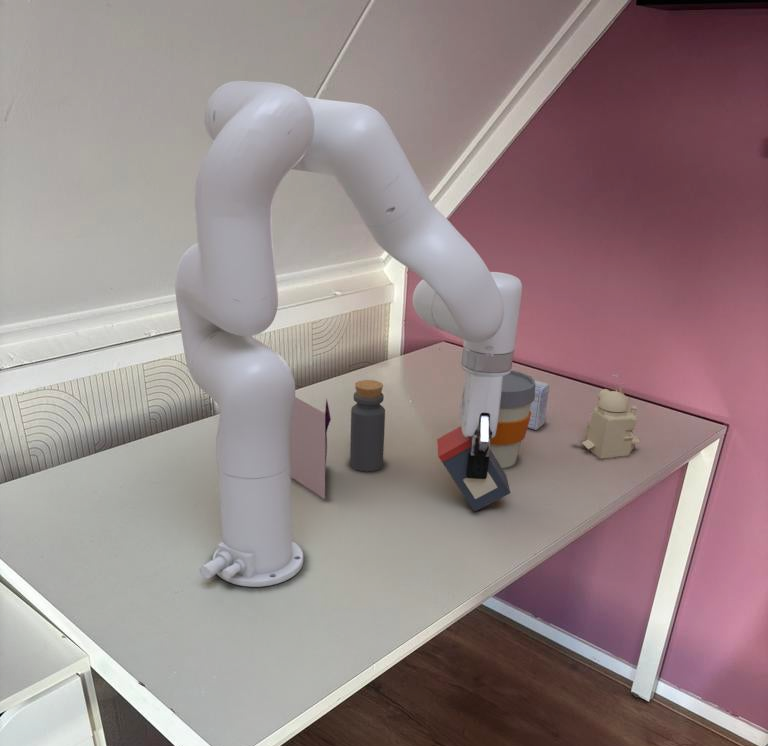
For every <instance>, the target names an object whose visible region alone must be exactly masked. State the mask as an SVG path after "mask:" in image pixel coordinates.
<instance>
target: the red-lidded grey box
mask: <svg viewBox="0 0 768 746" xmlns="http://www.w3.org/2000/svg"><path fill="white" fill-rule="evenodd" d="M475 435H480V432H476V431H475ZM471 441H472V438H471V436H468V437H465V436H464V435H463V433H462V428H461V425H460V426H458V427H456V428H455V429H452V430H451V431H449V432H447V433H445V434H444V435H442V436H440V437H438V438H437V439H436V443H437V456H438V459H439V460H440V462H441V463H442V464H443V466H444V468H445V469H446V470H447V472H448V474H449V475H450V476H451V478H452V480H453V481H454V483H455V484H456V486H457V487H458V489H459V491H460V492H461V493H462V495H463V497H464V498H465V499H466V501H467V503H468V504H469V506H470V507H471V509H472V511H473V512H477V511H480V510H482V509H483V508H485V507H487V506H489V505H490V504H492V503H494V502H496V501H498V500H500V499H502V498H504V497H506V496H508V495H510V494H511V490H510V486H509V485H510V484H509V480H508V477H507V474H506V472H505V471H504V468H501V466H500V464H499V463H498V461H497V459H496V458H495V456H494V455H493V453H492V451H491V450H490V449H489V455H490V456H489V464H488V472H487V478H486V479H473V478H467V477H466V470H467V462H468V453H471ZM477 443H479V439H476V441H475V445H476V444H477Z"/></svg>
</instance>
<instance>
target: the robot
mask: <svg viewBox="0 0 768 746" xmlns="http://www.w3.org/2000/svg"><path fill="white" fill-rule="evenodd" d="M610 376H612V377H615V378H617V379H616V383H619V373H616V374H610ZM620 384H621V385H620V386H618V387H619V391H618V388H616V389H615V390H610V389H607V388H604V389H601V391H599V392H598V395H597V397H598V404H597V405H596V406H594V408H593V410H592V413H589V415H590V416H591V417H590V421H586V432H587V437H586V440H585V441H584V440H583V441H582V442H581V443H580V444H578V446H581V445H582V446H581V447H582V448H584V447H585V448H586V449H587V454H589V453H590V452H591V453H592V454H593V455H595V456H596V457H598V458H599V459H609V458H618V457H628V456H630V453H632V451H633V450H634V449H635V445H637V444H641V440H640V439H639V437H637V436H636V435H635V434H634V430H635V429H636V426H637V423H638V417H637V416H636V412H637V409H638V407H637V406H636V405H635V404H634V405H631V406H630V396H628V397H627V396H626V395H625V394H624V393H623V391H622V388H623V385H624V383H623V382H621V383H620ZM629 409H630V410H629ZM631 433H632V434H631Z"/></svg>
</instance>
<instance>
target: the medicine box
mask: <svg viewBox="0 0 768 746" xmlns="http://www.w3.org/2000/svg"><path fill="white" fill-rule="evenodd" d="M549 391H550V383H548V382H543V381H540V380H535V399H534V401H533V402H532V404H531V407H530V411H531V416H530V420H529V424H528V427H527V429H530V430H535V431H537V430H538V429H539V428H541V427H542V426H543V425H544V424H545V423H546V415H547V414H546V413H547V405H548V398H549Z"/></svg>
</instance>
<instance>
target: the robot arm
mask: <svg viewBox="0 0 768 746" xmlns="http://www.w3.org/2000/svg"><path fill="white" fill-rule="evenodd" d="M204 125H205V130H206V133H207V136H208V138H209V140H210V142H211V145H210V146H209V148H208V149H207V151H206V153H205V155H204V157H203V159H202V162H201V164H200V167H199V169H198V173H197V177H196V180H195V186H194V196H193V197H194V198H193V199H194V200H193V201H194V202H193V204H194V207H193V208H194V218H195V219H194V220H195V230H196V231H195V232H196V242H197V243H196V242H195V243H194V244H193V245H191V246H190V247H189V248H188V249H187V250H185V252H184V253H183V255H182V256H181V258H180V260H179V261H178V264H177V267H176V271H175V278H174V292H175V301H176V308H177V313H178V321H179V328H180V333H181V340H182V346H183V353H184V358H185V362H186V366H187V369H188V372H189V374H190V377H191V379H192V381H194V383H195V384H196V385H197V387H199V388H200V390H202V391H203V392H204V393H205V394H206V395H207V396H208V397H210V399H211V400H213V401H214V402H215V403H216V404H217V406H218V410H219V411H218V413H219V419H218V426H217V431H216V438H215V439H216V440H215V455H216V466H217V478H218V479H217V480H218V494H219V495H218V496H219V507H220V521H221V522H220V524H221V537H222V541H221V542H219V543H217V548H216V550H215V551H214V553H213V554H212V559H211V560H209V561H207V562H206V563H205V564H203V565H201V566H200V567H199V574H200V575H201V576H202V578H204V579H205V580H210V579H211V578H212V577H214V576H216V575H217V576H218V577H220V579H222V580H223V581H226V582H227V583H230V584H233V585H237V586H240V587H249V588H263V587H268V586H275V585H277V584H281V583H283V582H286V581H287V580H289V579H291V578H293V577H294V576H296V575H297V574H298V573H299V572H300V571H301V569H302V567H303V565H304V552H303V549H302V547H300V545H299V544H298V543H296V542H295V541H293V522H292V521H293V520H292V477H291V466H290V429H291V419H292V413H293V407H294V401H295V397H296V383H295V378H294V375H293V372H292V370H291V368H290V366H289V365H288V363H287V362H286V361H285V359H284V358H283V357H282V356H281V355H280V354H279V353H278V352H276V350H274V349H272V348H271V347H270V346H268V345H266V344H265V343H264V342H262V341H260V340H258V339H257V338H255V337H254V336H258V335H260V334H261V333H263V332H265V331H266V330H267V329H268V328H270V326H271V325H272V324H273V322H274V320H275V318H276V316H277V313H278V308H279V307H278V306H279V291H278V281H277V272H276V261H275V248H274V239H273V205H274V201H275V196H276V193H277V191H278V189H279V188H280V185H281V183H282V181H283V180H284V178H285V177H286V176H287V175H288V173H289V172H290V171H291V170H293V171H294V170H295V171H301V172H307V173H314V174H315V173H316V174H321V175H324V176H329V177H333V178H334V179H335V181H336V182H337V183H338V185H339V186H340V188H341V189H342V191H343V193H344V194H345V196H346V197H347V199H348V200H349V201H350V203H351V205H352V206H353V208H354V210H355V211H356V212H357V214H358V216H359V218H360V219H361V221H362V222H363V224H364V225H365V227H366V229H367V230H368V232H369V233H370V235H371V237H372V238H373V240H374V241H375V243H376V244H377V245H378V246H379V247H380V248H381V249H382V250H383V251H385V252H386V253H387V254H388V255H389V256H391V257H392V258H393V259H395V260H396V261H397V262H398V263H400V264H401V265H403V266H405V267H406V268H408V269H409V270H410V271H412V272H414V273H415V274H416V275H418V277H420V278H421V280H420V281H419V282H418V284H416V287H415V288H414V290H413V294H412V306H413V310H414V311H415V313H416V315H417V316H418V317H419V318H420V320H422V321H423V322H424V323H426V324H428V325H430V326H432V327H434V328H437V329H438V330H440V331H443V332H446V333H448V334H451V335H453V336H455V337H457V338H459V339H461V340H463V345H462V354H461V363H460V364H461V365H460V368H461V369H462V370H463V371H464V372H465V375H464V382H463V389H462V396H461V403H460V409H459V423H460V426H461V428H462V433H463V435H464V436H465V437H468V436H471V438H472V441H471V453H468V462H467V470H466V477H467V478H473V479H486V478H487V472H488V464H489V456H490V455H489V449H490V438H491V439H492V438H494V437H495V435H496V430H497V424H498V417H499V409H500V401H501V392H502V383H503V376H504V375H508V374H509V373H510V372H511V370H512V369H513V360H514V352H515V346H516V339H517V332H518V326H519V325H518V324H519V316H520V309H521V303H522V295H523V284H522V283H523V282H522V281H521V279H520V278H519V277H517V276H515V275H513V274H510V273H505V272H498V271H490V270H489V268H488V267H487V265H486V263H485V262H484V260H483V258H482V257H481V255H480V254H479V253H478V252H477V251H476V250H475V248H474V247H473V246H472V245H471V243H470V242H469V241H467V239H466V238H465V236H463V235H462V234H461V233H460V232H459V230H457V229H456V227H455V226H454V225H453V224H452V223H451V221H450V220H448V218H447V217H446V216H445V215H444V214H443V213H442V212H440V210H439V209H438V208H437V207H436V206H435V205H434V203H433V202H432V200H431V198H430V197H429V195H428V194H427V191H426V190H425V188H424V186H423V184H422V183H421V181H420V179H419V178H418V176H417V174H416V172H415V170H414V168H413V166H412V165H411V163H410V160H409V159H408V157H407V154H406V153H405V151H404V150H403V148H402V146H401V144H400V143H399V141H398V139H397V137H396V135H395V133H394V132H393V130H392V128H391V126H390V125H389V123H388V122H387V120H386V119H385V117H384V116H383V114H381V113H380V112H379V111H378V110H377V109H375V108H373V107H372V106H370V105H366V104H363V103H359V102H358V103H357V102H351V101H350V102H349V101H341V100H330V99H322V98H315V97H311V96H305V95H304V94H302V93H301V92H300V91H298V90H297V89H295V88H294V87H291V86H289V85H286V84H283V83H277V82H271V81H253V80H231V81H229V82H227V83H223V84H222V85H220V86H219V87H217V88H216V89H215V90H214V91H213V93H212V94H211V95H210V97H208V100H207V102H206V105H205V110H204ZM475 431H476V432H480V435H475ZM476 439H479V443H477V444H476V445H475V441H476Z"/></svg>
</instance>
